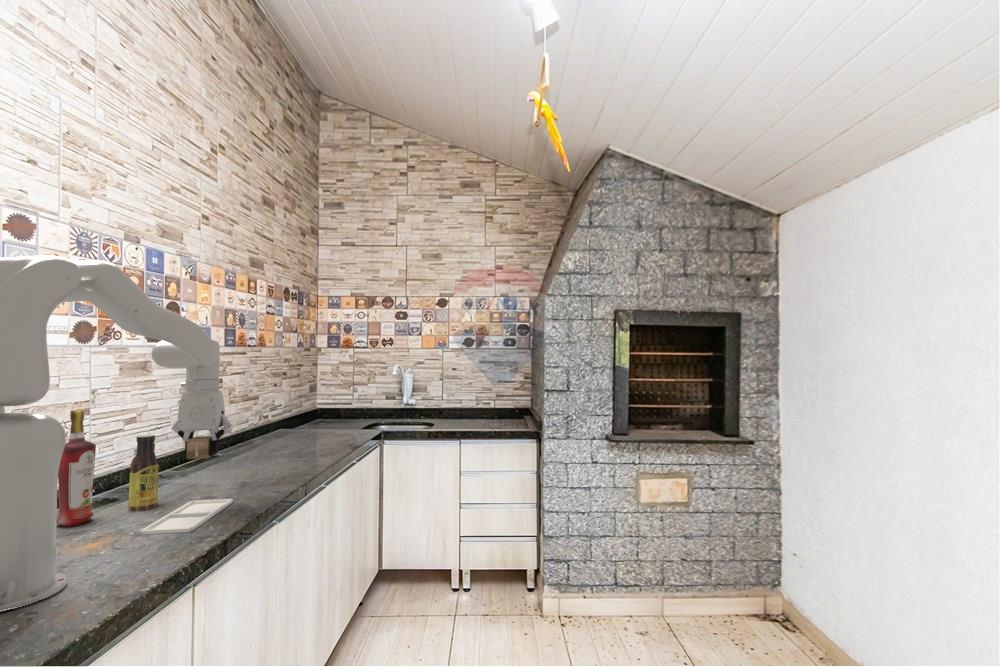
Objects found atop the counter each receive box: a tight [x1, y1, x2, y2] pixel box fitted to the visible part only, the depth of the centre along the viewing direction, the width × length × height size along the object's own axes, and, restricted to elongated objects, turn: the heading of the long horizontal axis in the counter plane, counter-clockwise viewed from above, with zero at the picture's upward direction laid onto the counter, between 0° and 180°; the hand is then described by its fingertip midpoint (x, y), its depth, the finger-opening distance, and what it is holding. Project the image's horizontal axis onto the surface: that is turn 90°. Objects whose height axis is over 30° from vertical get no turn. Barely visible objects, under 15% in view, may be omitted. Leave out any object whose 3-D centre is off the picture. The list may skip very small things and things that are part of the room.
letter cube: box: [186, 435, 217, 460], centre depth 124 cm, size 5×5×5 cm
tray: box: [138, 498, 234, 536], centre depth 119 cm, size 22×11×2 cm, turn 7°
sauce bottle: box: [127, 434, 160, 512], centre depth 127 cm, size 7×6×20 cm
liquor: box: [57, 409, 97, 527], centre depth 118 cm, size 7×7×28 cm
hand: (201, 454), depth 124 cm, fingers closed on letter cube, 4 cm apart
